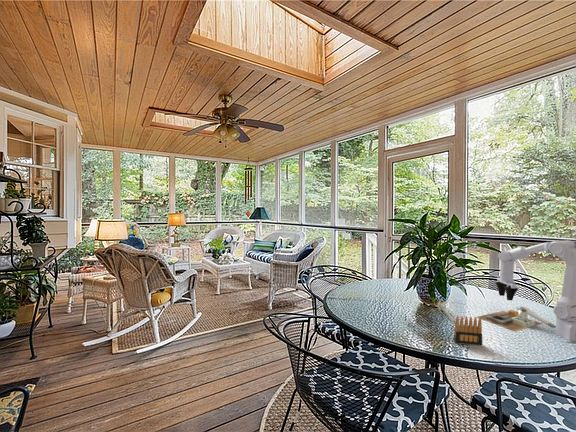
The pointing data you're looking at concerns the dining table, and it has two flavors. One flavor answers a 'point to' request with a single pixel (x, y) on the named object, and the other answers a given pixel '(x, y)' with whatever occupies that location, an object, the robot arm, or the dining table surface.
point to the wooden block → (509, 314)
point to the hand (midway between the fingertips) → (505, 297)
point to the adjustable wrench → (537, 317)
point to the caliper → (442, 307)
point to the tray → (528, 324)
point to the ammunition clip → (468, 331)
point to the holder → (504, 321)
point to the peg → (522, 315)
